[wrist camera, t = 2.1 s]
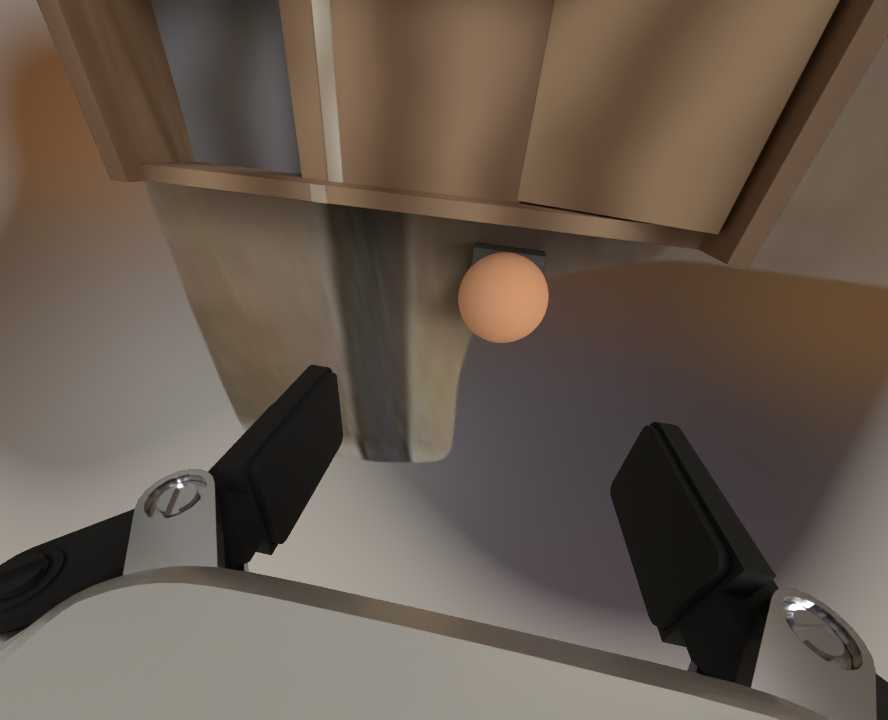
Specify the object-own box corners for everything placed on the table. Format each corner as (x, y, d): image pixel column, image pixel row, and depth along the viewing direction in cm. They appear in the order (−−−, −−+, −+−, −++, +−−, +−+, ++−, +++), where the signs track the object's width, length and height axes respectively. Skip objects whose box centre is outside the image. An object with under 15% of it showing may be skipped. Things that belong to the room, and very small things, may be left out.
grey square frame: (544, 251, 20) (546, 256, 19) (529, 314, 22) (529, 322, 21) (475, 242, 20) (474, 247, 19) (467, 305, 23) (465, 312, 22)
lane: (802, -37, 13) (1012, -174, 7) (679, 233, 18) (749, 267, 13) (119, -65, 16) (-82, -175, 10) (189, 174, 21) (81, 181, 16)
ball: (554, 248, 19) (565, 275, 15) (533, 325, 22) (539, 366, 18) (469, 237, 20) (457, 260, 15) (459, 314, 22) (447, 351, 18)
